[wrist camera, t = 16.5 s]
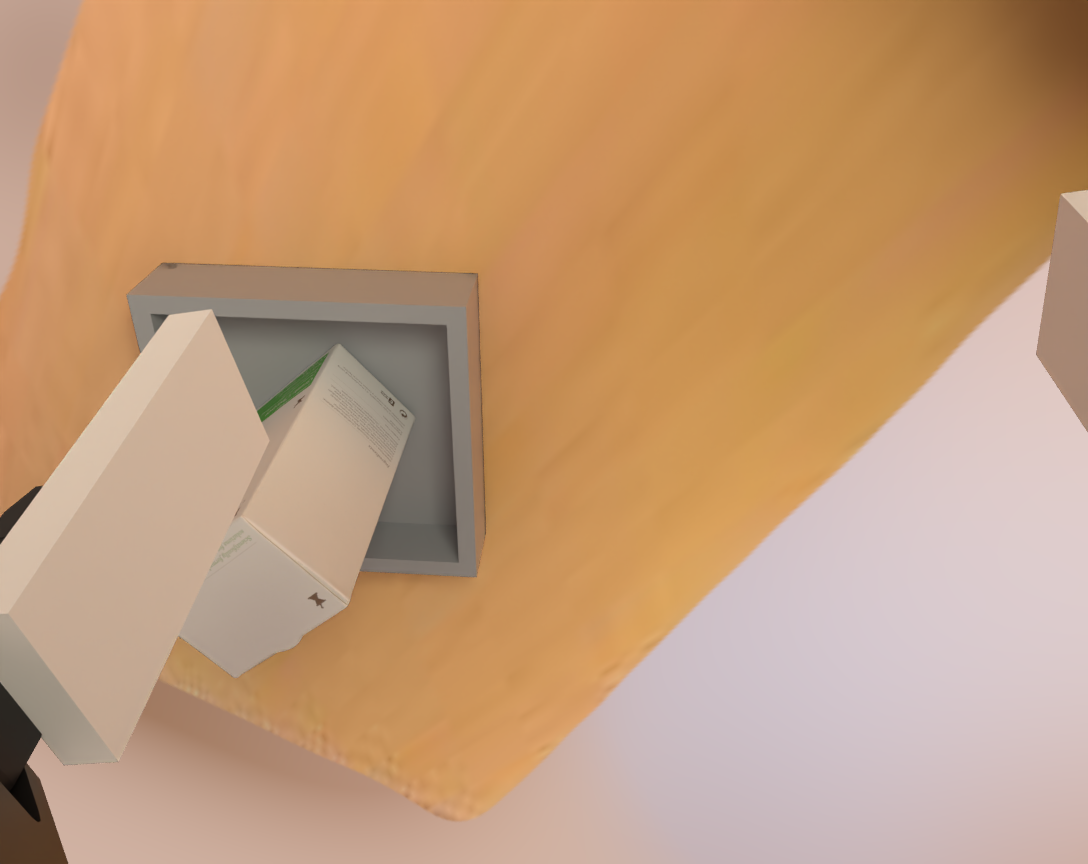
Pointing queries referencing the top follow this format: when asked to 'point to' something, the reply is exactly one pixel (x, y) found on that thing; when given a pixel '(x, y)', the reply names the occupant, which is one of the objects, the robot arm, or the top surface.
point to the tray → (388, 354)
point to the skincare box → (301, 514)
